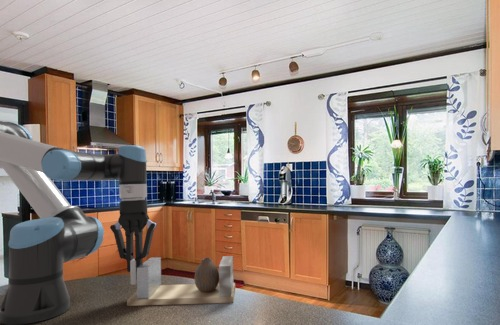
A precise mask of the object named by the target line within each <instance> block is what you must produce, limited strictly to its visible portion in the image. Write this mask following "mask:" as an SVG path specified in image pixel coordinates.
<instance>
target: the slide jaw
mask: <svg viewBox="0 0 500 325" xmlns="http://www.w3.org/2000/svg"><path fill="white" fill-rule="evenodd" d="M160 285H162V258H161V256H155V257H150V258H148V259H147V260H145V261H144V262H142V264H141V265H140V266H139V267H137V284H136V286H137V287H136V291H137V298H149V297H150V296H151V295H152V294H153V293H154V292H155V290H156V289H157V288H158V287H159V286H160Z"/></svg>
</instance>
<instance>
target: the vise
mask: <svg viewBox="0 0 500 325" xmlns="http://www.w3.org/2000/svg"><path fill="white" fill-rule="evenodd" d="M218 272H219V283H218V286H217V287H216V289H215V290H214V291H212V292H201V291H199V290H198V288H197V287H196V284H195V283H192V284H191V283H188V284H186V283H185V284H161V285H160V286H159V287H158V288H157V289H156V290H155V292H154V293H153V294H152V295H151V296H150V297H149V298H137V290H136V291H135V292H134V293H132V294H131V296H130V297H128V298H127V299H126V306H128V307H129V306H130V307H131V306H136V307H137V306H158V305H163V306H165V305H166V306H167V305H193V304H194V305H196V304H197V305H198V304H225V303H226V304H228V303H229V304H231V303H234V300H235V292H236V282H234V256H233V255H225V256H224V255H223V256H222V258H221V260H220V262H219V265H218Z"/></svg>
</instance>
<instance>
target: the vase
mask: <svg viewBox="0 0 500 325" xmlns="http://www.w3.org/2000/svg"><path fill="white" fill-rule="evenodd" d="M218 283H219V268H217V266H216V265H215V263H214V262H213V261H212V257H211V258H210V257H204V258H201V261H200V263H199V265H198V266H197V267H196V269H195V272H194V284H196V287H197V288H198V290H199V291H201V292H212V291H214V290H215V289H216V287H217V286H218Z"/></svg>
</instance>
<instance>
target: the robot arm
mask: <svg viewBox="0 0 500 325" xmlns="http://www.w3.org/2000/svg"><path fill="white" fill-rule="evenodd" d="M147 162H148V161H147V152H146V149H145V147H144V146H142V145H135V144H133V145H132V144H131V145H128V144H127V145H120V146H119V147H118V152H117V153H114V154H111V153H110V154H98V153H88V152H81V151H75V150H69V149H67V148H66V149H65V148H63V147H59V146H55V145H51V144H48V143H44V142H40V141H36V140H33V136H32V134H31V133H30V131H29V130H28V129H27V128H26V127H25V126H23V125H21V124H18V123H15V122H11V121H3V120H0V169H3V170H4V172H5V173H6V174H7V175H8V177H9V178H10V180H11V181H12V182H13V184H14V185H15V186H16V188H17V190H19V192H20V193H21V194H22V196H23V197H24V198H25V201H27V203H28V204H29V205H30V207H31V208H32V210H34V212H35V213H36V215H37V216H38V217H39V218H37V219H36V218H35V219H30V220H25V221H22V222H19V223H17V224H15V225H14V226H13V227H12V228H11V229H10V231H9V240H8V242H7V244H8V287H7V289H6V290H7V291H6V293H5V295H4V299H3V301H2V303H1V306H0V324H2V325H28V324H33V323H39V322H42V321H46V320H50V319H52V318H56V317H57V316H60V315H62V314H64V313H65V312H67V311H68V310H69V309H70V308H71V296H70V293H69V291H68V288H67V285H66V282H65V280H64V263H67V262H71V261H74V260H78V259H81V258H82V259H83V258H85V257H88V256H90V255H92V254H94V253H96V252H97V251H98V250H99V248H100V247H101V246H102V244H103V243H104V242H103V241H104V236H105V231H104V230H105V229H104V226H103V224H102V222H101V221H100V220H99V219H98V218H96V217H95V216H91V215H86V214H85V212H84V211H83V210H82V209H81V207H79V206H76V205H71V204H70V202H69V201H68V200H67V199H66V197H65V196H64V194H63V193H62V192H61V191H60V190H59V188H58V187H57V186H56V184H55V183H54V181H52V180H57V181H61V182H65V181H88V182H90V181H91V182H99V181H110V180H112V181H113V180H118V184H119V185H118V189H119V190H118V191H119V193H118V194H119V199H121V200H120V201H119V217H118V220H117V222H115V223H114V224H111V225H110V227H109V228H110V230H111V231H112V233H113V235H114V240H115V244H116V247H117V252H118V255H119V258H120V259H122V260H123V259H124V260H126V271H127V273H130V285H132V286H135V285H136V286H137V267H139V266H140V265H141V264H143V259H145V258H146V257H148V256H149V254H150V250H151V246H152V240H153V235H154V232H155V231H154V230H156V228H157V226H158V222H155V221H154V222H153V221H152V220H151V219H150V217H149V215H148V200H147V199H146V198H147V197H148V184H147ZM145 227H146V228H147V230H146V235H145V240H144V244H143V234H144V231H143V230H144V229H145ZM121 228H122V229H123V231H124V232H125V238H124V236H123V232H122V229H121ZM124 239H125V240H124ZM134 250H135V251H134ZM134 252H135V253H134Z"/></svg>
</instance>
